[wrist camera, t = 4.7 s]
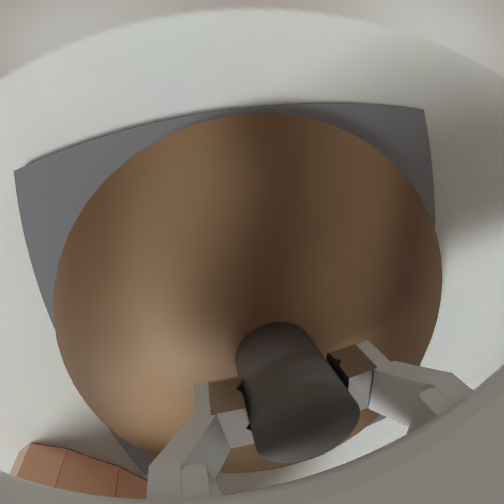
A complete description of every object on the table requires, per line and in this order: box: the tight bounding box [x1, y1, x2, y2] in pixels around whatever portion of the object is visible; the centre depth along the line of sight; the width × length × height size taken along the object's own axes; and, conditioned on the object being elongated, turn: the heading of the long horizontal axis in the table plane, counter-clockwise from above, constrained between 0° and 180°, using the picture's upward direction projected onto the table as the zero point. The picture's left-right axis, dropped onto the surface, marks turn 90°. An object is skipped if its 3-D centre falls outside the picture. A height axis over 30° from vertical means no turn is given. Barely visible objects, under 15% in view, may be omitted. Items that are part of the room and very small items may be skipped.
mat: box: [14, 103, 435, 474], centre depth 11 cm, size 18×18×1 cm
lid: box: [53, 113, 442, 473], centre depth 9 cm, size 17×17×5 cm
